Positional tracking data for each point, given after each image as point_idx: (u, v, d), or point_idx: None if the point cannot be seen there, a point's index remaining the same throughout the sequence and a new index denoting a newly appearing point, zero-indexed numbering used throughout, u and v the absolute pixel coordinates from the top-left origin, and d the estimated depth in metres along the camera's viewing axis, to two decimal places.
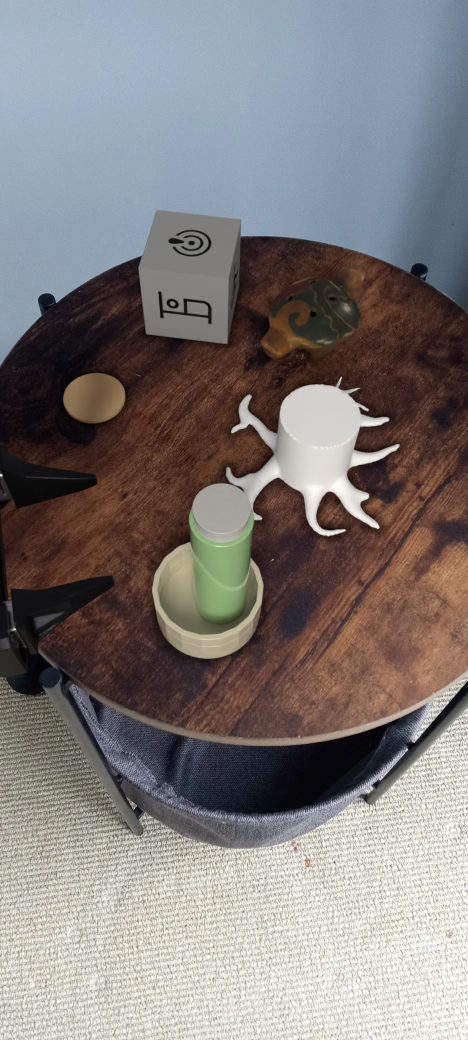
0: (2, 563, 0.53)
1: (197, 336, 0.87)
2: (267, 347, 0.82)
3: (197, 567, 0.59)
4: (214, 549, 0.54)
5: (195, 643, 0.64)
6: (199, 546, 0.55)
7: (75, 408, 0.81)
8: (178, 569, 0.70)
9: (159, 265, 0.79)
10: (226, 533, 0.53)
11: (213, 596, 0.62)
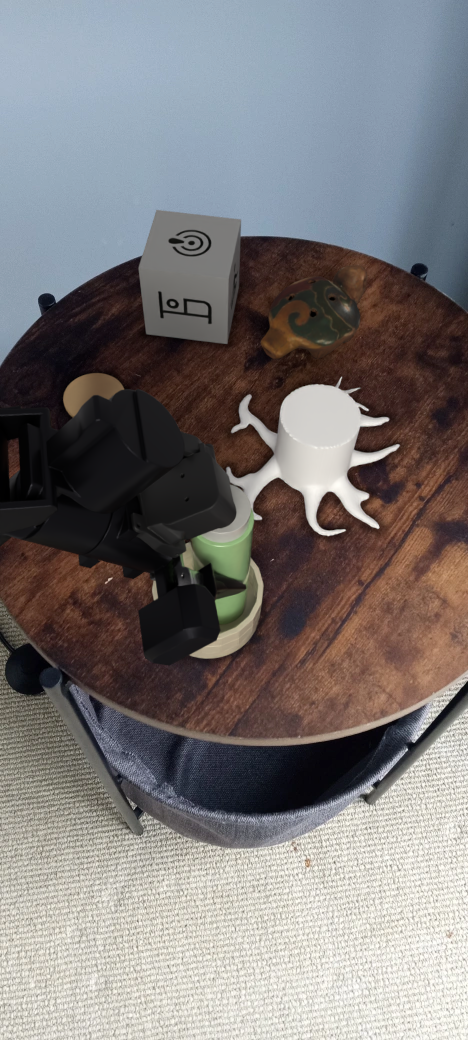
0: None
1: (197, 336, 0.87)
2: (267, 347, 0.82)
3: (197, 567, 0.59)
4: (214, 549, 0.54)
5: None
6: (199, 546, 0.55)
7: (75, 408, 0.81)
8: None
9: (159, 265, 0.79)
10: (226, 533, 0.53)
11: None
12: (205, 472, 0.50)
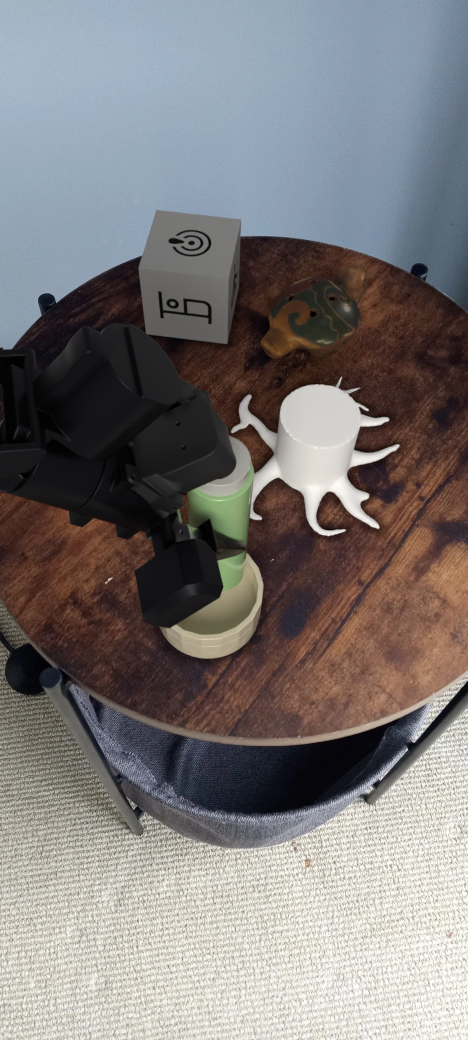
0: None
1: (197, 336, 0.87)
2: (267, 347, 0.82)
3: None
4: (213, 504, 0.51)
5: (195, 643, 0.64)
6: (197, 502, 0.52)
7: None
8: None
9: (159, 265, 0.79)
10: (226, 485, 0.50)
11: None
12: (202, 418, 0.47)
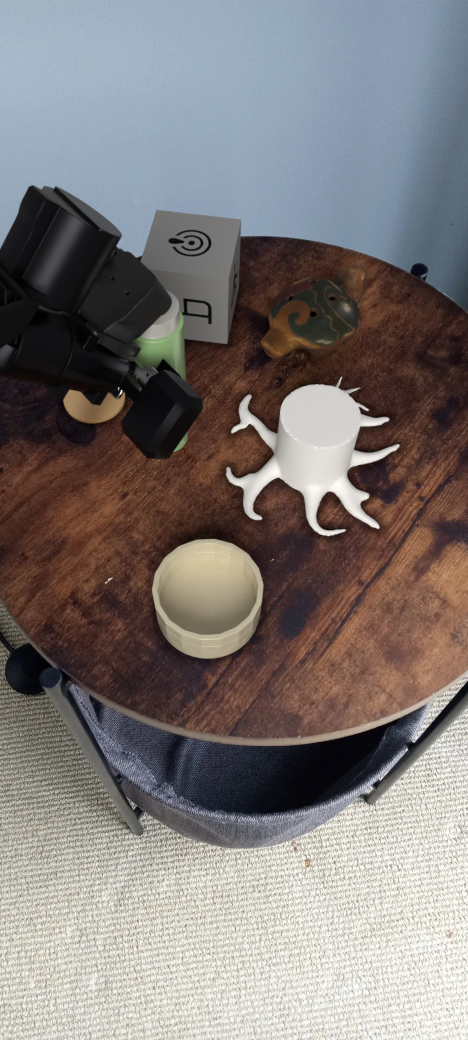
0: (128, 371, 0.59)
1: (197, 336, 0.87)
2: (267, 347, 0.82)
3: None
4: (161, 346, 0.59)
5: (195, 643, 0.64)
6: (145, 351, 0.59)
7: (75, 408, 0.81)
8: (178, 569, 0.70)
9: (159, 265, 0.79)
10: (167, 322, 0.57)
11: None
12: (132, 265, 0.54)
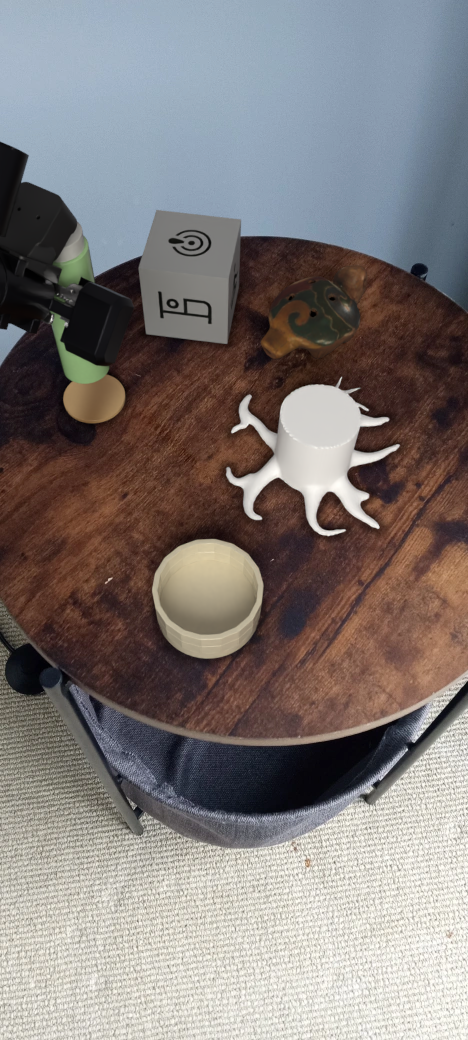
0: None
1: (197, 336, 0.87)
2: (267, 347, 0.82)
3: None
4: (75, 267, 0.64)
5: (195, 643, 0.64)
6: (62, 276, 0.64)
7: (75, 408, 0.81)
8: (178, 569, 0.70)
9: (159, 265, 0.79)
10: (76, 241, 0.62)
11: None
12: (33, 192, 0.59)
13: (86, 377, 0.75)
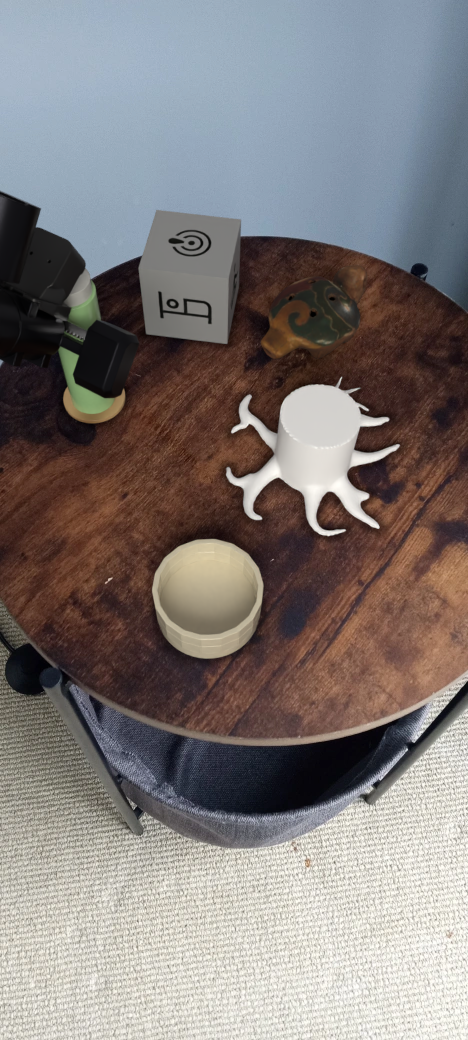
0: None
1: (197, 336, 0.87)
2: (267, 347, 0.82)
3: None
4: (84, 311, 0.68)
5: (195, 643, 0.64)
6: (71, 319, 0.68)
7: (75, 408, 0.81)
8: (178, 569, 0.70)
9: (159, 265, 0.79)
10: (85, 288, 0.67)
11: None
12: (45, 237, 0.63)
13: (93, 408, 0.80)
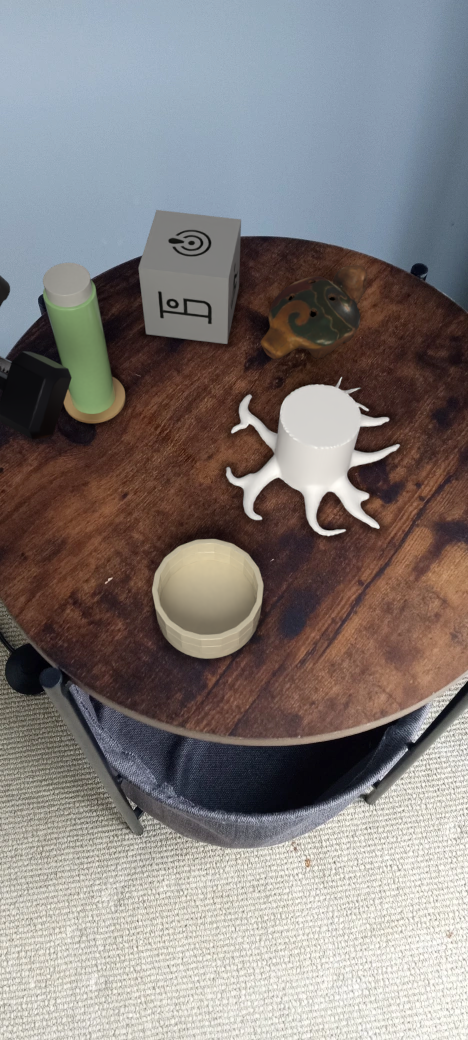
0: None
1: (197, 336, 0.87)
2: (267, 347, 0.82)
3: (75, 350, 0.72)
4: (84, 311, 0.68)
5: (195, 643, 0.64)
6: (71, 319, 0.68)
7: (75, 408, 0.81)
8: (178, 569, 0.70)
9: (159, 265, 0.79)
10: (85, 288, 0.67)
11: (96, 373, 0.75)
12: None
13: (93, 408, 0.80)
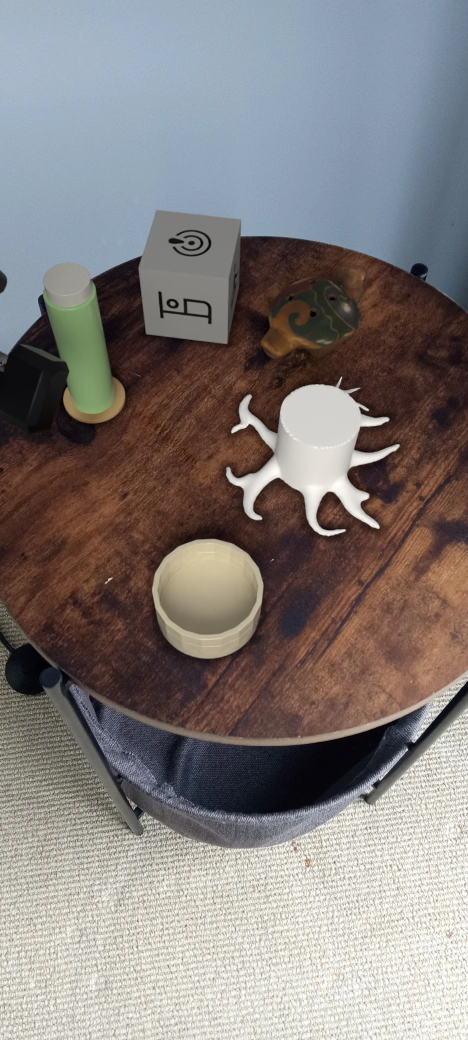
0: None
1: (197, 336, 0.87)
2: (267, 347, 0.82)
3: (75, 350, 0.72)
4: (84, 311, 0.68)
5: (195, 643, 0.64)
6: (71, 319, 0.68)
7: (75, 408, 0.81)
8: (178, 569, 0.70)
9: (159, 265, 0.79)
10: (85, 288, 0.67)
11: (96, 373, 0.75)
12: None
13: (93, 408, 0.80)
